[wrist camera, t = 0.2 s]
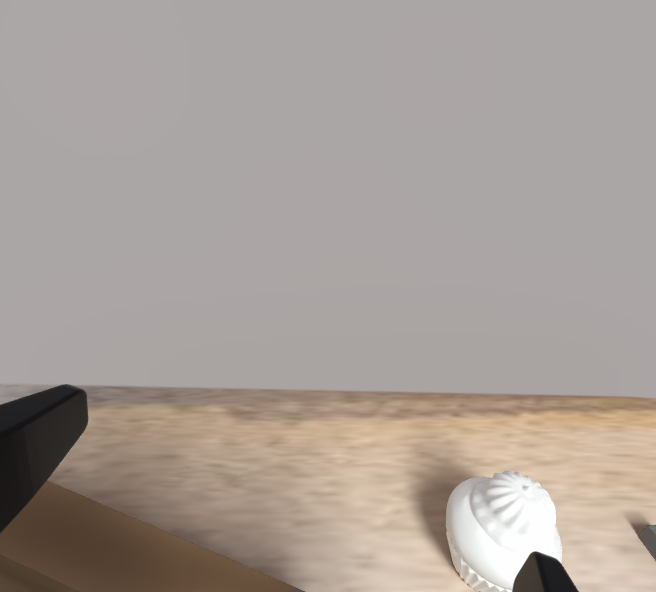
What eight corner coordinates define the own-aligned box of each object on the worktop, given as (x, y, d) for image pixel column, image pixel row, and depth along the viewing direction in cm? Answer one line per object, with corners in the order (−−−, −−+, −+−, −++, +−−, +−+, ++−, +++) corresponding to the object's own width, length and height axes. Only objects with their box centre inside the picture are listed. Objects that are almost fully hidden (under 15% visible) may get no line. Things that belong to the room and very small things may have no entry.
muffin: (482, 505, 30) (527, 430, 27) (555, 600, 26) (620, 524, 22) (406, 532, 27) (445, 452, 24) (473, 645, 23) (533, 565, 19)
